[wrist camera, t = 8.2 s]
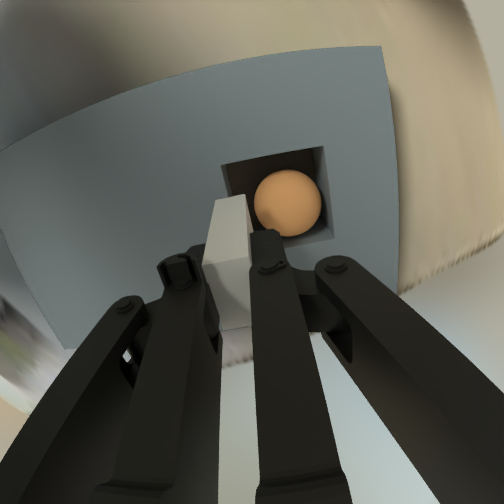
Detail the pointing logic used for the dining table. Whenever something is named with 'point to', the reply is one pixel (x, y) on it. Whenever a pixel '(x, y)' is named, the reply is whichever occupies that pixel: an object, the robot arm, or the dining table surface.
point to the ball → (287, 202)
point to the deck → (197, 176)
